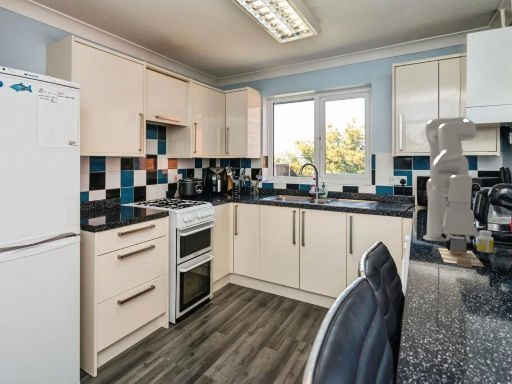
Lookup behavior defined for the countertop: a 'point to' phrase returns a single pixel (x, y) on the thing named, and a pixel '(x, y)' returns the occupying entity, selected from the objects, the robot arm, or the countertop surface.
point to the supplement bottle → (485, 241)
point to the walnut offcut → (464, 262)
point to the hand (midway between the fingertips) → (456, 250)
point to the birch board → (453, 257)
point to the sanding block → (457, 245)
